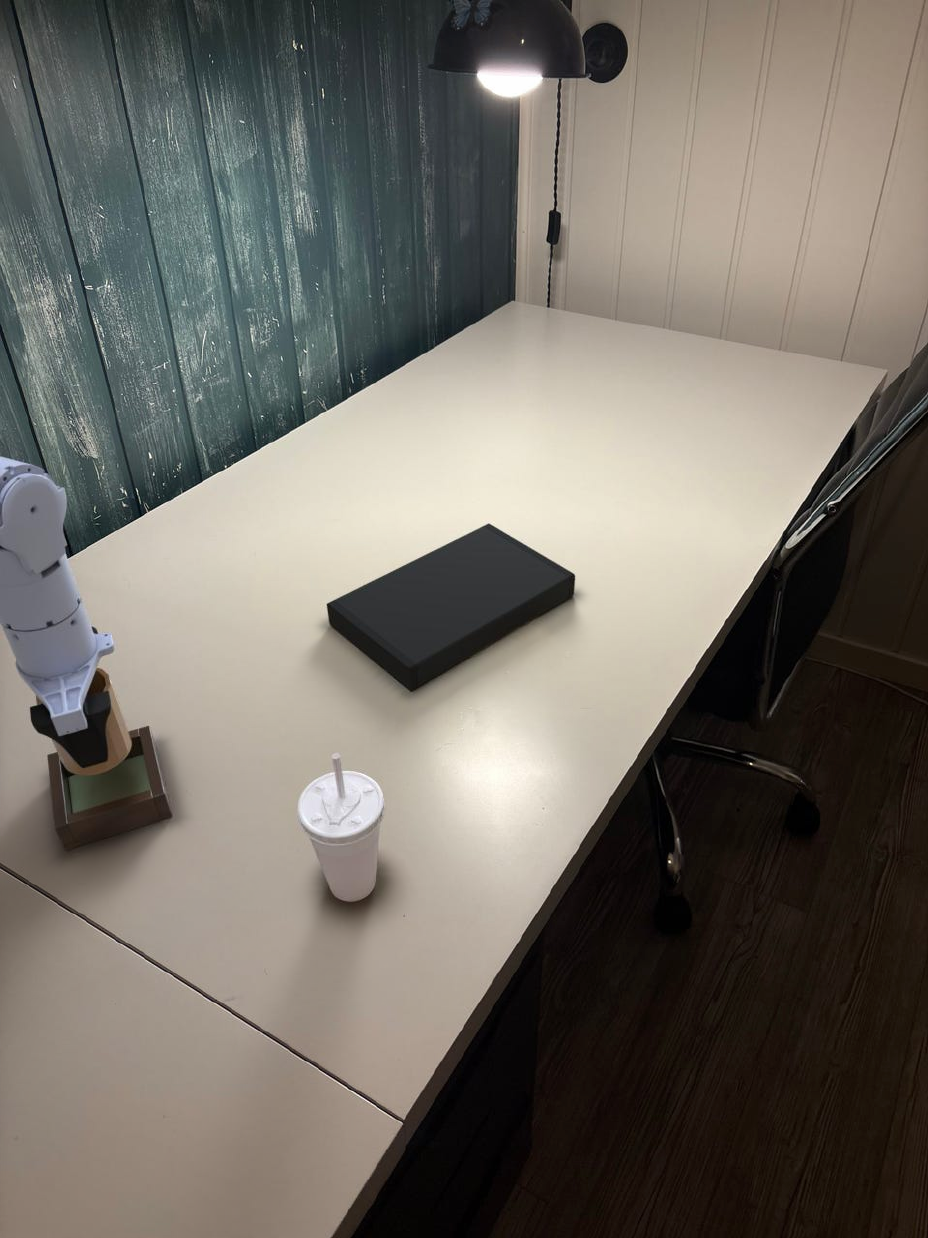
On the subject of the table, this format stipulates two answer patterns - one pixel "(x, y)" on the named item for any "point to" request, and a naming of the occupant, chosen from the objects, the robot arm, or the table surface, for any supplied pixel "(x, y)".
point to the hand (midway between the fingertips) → (90, 736)
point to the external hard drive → (449, 604)
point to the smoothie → (344, 829)
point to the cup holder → (109, 795)
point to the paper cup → (115, 731)
